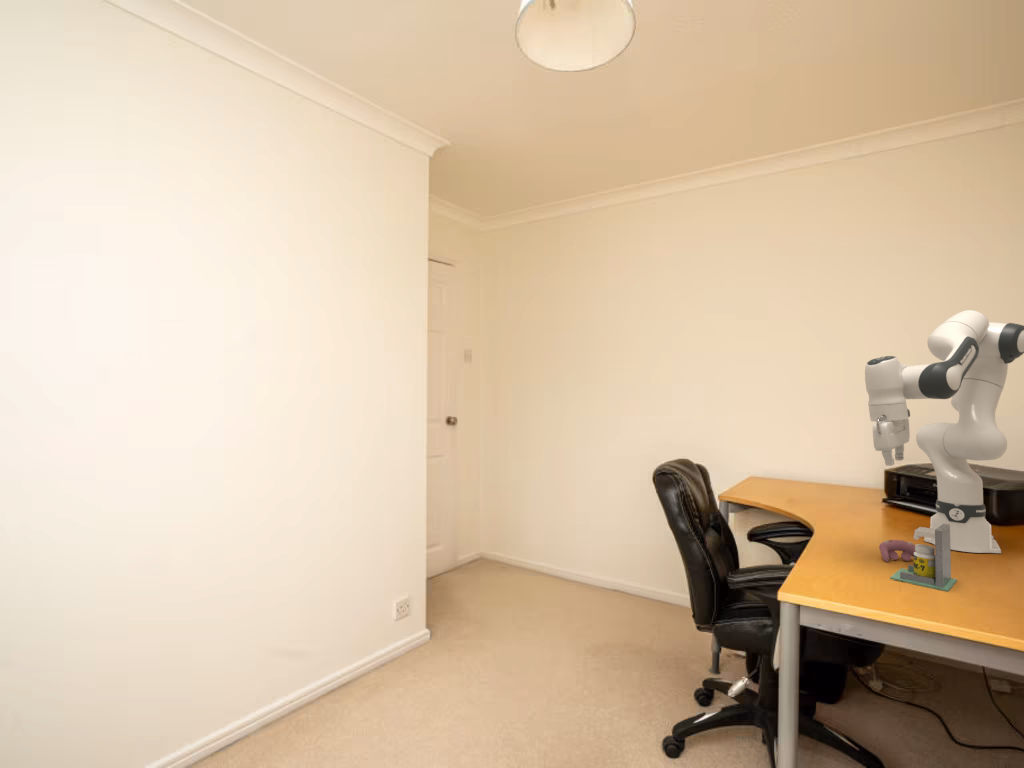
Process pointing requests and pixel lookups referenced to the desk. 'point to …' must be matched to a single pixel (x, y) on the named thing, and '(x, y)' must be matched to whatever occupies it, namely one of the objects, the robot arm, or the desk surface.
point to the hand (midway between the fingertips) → (895, 462)
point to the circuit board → (945, 588)
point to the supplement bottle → (924, 561)
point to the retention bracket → (941, 556)
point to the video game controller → (897, 549)
